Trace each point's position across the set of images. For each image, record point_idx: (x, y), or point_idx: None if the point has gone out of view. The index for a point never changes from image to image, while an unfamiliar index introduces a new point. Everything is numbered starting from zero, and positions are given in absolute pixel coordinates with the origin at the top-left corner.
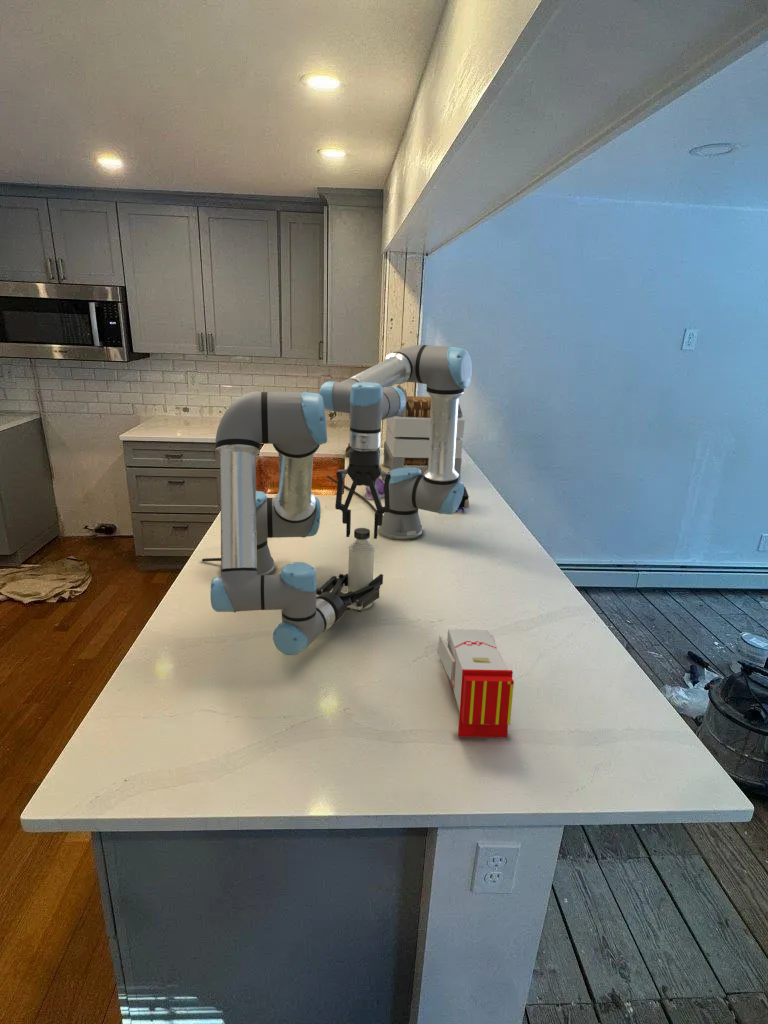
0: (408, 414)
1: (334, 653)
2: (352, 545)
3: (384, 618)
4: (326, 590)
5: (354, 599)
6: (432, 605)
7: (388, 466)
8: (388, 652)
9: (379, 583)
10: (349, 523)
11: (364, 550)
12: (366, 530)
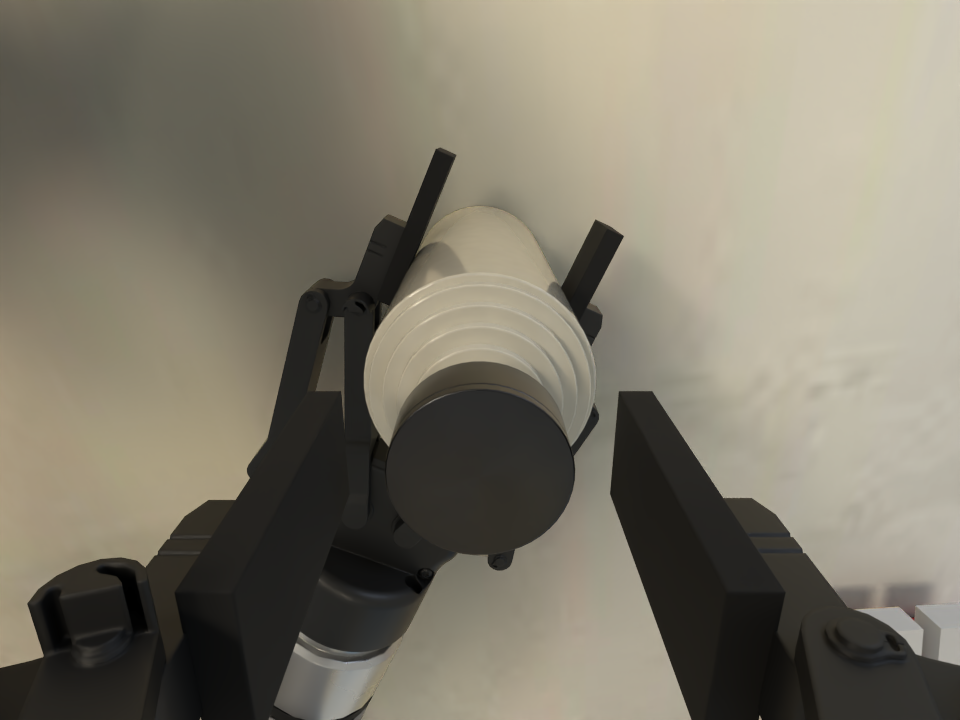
0: None
1: (428, 625)
2: (396, 420)
3: (603, 390)
4: None
5: None
6: (852, 241)
7: None
8: (614, 602)
9: (597, 327)
10: (309, 601)
11: None
12: (531, 463)
